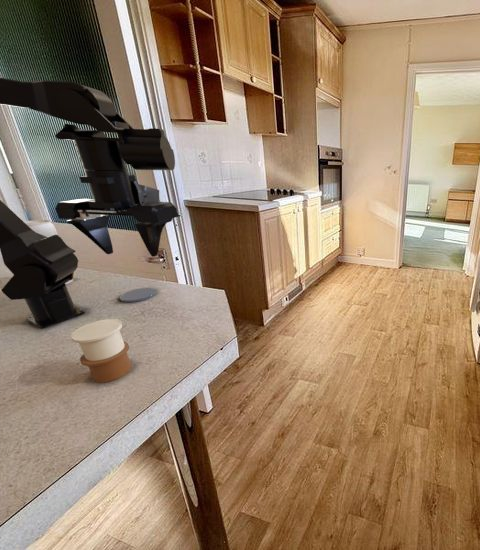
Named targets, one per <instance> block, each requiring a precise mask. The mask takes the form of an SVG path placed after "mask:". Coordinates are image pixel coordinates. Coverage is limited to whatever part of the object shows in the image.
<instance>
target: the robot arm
mask: <svg viewBox="0 0 480 550" xmlns="http://www.w3.org/2000/svg"><path fill="white" fill-rule="evenodd" d="M0 105H4V106H10V107H16V108H22V109H27V110H28V109H29V110H32V111H35V112H39V113H42V114H45V115H47V116H50V117H52V118H53V117H54V118H56V119H60V120H64V121H66V122H70V123H65V124H64V125H63V127H62V129H60V130H59V131H58V132H57V133H56V134H55V136H54V137H55V138H56V139H57V140H61V141H62V140H63V141H64V140H65V141H73V142H74V144H75V148H76V150H77V152H78V156H79V159H80V162H81V164H82V168H83V170H84V173H85V175H83V176H82V175H81V176H79V180H80V182H81V184H88V187H89V189H90V192H91V195H92V198H79V199H78V198H77V199H71V200H63V201H58V203H57V204H56V206H55V207H54V209H55V212H56V215H57V217H58V219H61V220H66V223H67V224H69V225H72V226H74V227H75V228H76V229H77V230H78V231H79V232H81V233H82V234H83V235H85V236H86V237H87V238H88V239H89V240H91V242H92V243H94V244H95V245H96V246H97V247H98V248H99V249H101V251H102V252H104V253H105V254H106V255H112V254H114V249H113V247H114V246H113V244H112V243H113V242H112V240H111V236H110V232H109V228H108V222H109V219H110V218H111V216H124V217H125V216H126V217H133V218H134V220H136V221H137V223H134V226H135V228H136V230H137V232H138V234H139V236H140V238H141V240H142V242H143V244H144V247H145V248H146V250H147V251H148V253H149V254H150V256H151V257H153V258H154V257H156V256H158V255H159V249H160V244H161V243H160V241H161V238H162V237H161V236H162V233H163V230H164V228H165V226H166V224H167V223H171V222H173V219H175V218H178V217H179V213H178V210H177V207H176V205H175V204H174V203H172V202H171V201H160V190H159V189H157V188H153V187H151V186H148V185H144V184H140V183H139V182H138V178H137V177H136V175H134V174H129V171H128V168H127V165H130V166H131V168H133V169H134V170H136V171H174V170H175V167H176V156H175V152H174V149H173V148H172V146H171V143H170V141H169V139H168V138H167V137H166V133H165V130H164V129H163V128H155V127H154V128H153V127H152V128H145V129H144V128H134V127H133V126H132V125H131V124H130V123H129V122H128V121H127V120H126V119H125V118H124V117H123V116H122V115H120V113H119V112H118V111H117V110H116V105H115V104H114V103H113V101H112V99H111V98H110V97H109V96H108V95H106V94H105V92H103V91H101V90H98V89H96V88H92V87H89V86H86V85H83V84H80V83H76V82H74V81H70V80H37V81H24V80H23V81H22V80H15V79H12V78H11V79H10V78H5V77H0ZM71 123H73V124H71ZM77 124H78V125H82V126H89V127H91V128H93V129H82V128H79V127H78V126H77ZM105 133H109V134H117V136H118V137H108V136H107V135H106V134H105ZM24 222H25V221H23V219H22V218H21V217H19V216H18V215H17V214H16V213H15V212H14V211H13V210H12V209H11V208H9V207H8V206H7V204H5V202H3V201H2V200H1V199H0V255H1V258H2V261H3V265H4V266H5V267H6V268H7V269H8V270H9V271H10V272H11V274H12V275H13V276H12V277H10V279H9V280H8V281H7V282H6V283H5V285H4V286H3V287H2V288H1V292H2V293H3V294H4V296H6V297H7V298H8V299H9V300H10V301H17V300H24V301H25V303H26V305H27V307H28V309H29V311H30V313H31V316H28V317H26V318H25V320H26V321H27V322H29V323H31V324H33V325H34V326H36V327H39V329H45V328H48V327H52V326H54V325H57V324H59V323H63V322H65V321H67V320H71V319H73V318H75V317H79V316H82V315H84V314H85V313H86V311H85V310H84V309H83V308H80V307H78V306H75V304H74V301H73V299H72V296H71V294H70V292H69V290H68V287H67V284H65V283H66V282H68V281H69V280H72V279H73V280H74V278H73V275H74V276H75V272H76V270H77V268H78V266H79V265H78V264H79V259H78V257H77V256H76V254H75V253H76V250H75V249H73V248H71V246H69V245H68V244H67V243H66V242H65V241H64V240H63V239H62V237H60V235H59V234H58V235H56V234H55V235H52V236H49V237H46V236H43V235H41V234H39V233H36V232H35V231H33V230H32V229H31V228H30V227H29V226H28V225H27V224H25V223H24Z"/></svg>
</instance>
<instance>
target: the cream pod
mask: <svg viewBox="0 0 480 550" xmlns="http://www.w3.org/2000/svg"><path fill="white" fill-rule="evenodd" d="M122 327H123V323H122V321H121V320H120V319H116V318H107V319H100V320H96V321H92V322H90V323H87V324H85V325H82V326H80V327H79V328H76V329H75V330H73V332H72V333H71V334H70V339H71V341H72V342H74V343H77V344H79V346H80V349H81V351H82V353H83V354H84V356H85V358H86V359H87V360H89V361H98V360H103V359H107V358H109V357H112V356H114V355H116V354H118V353H119V352H121V351H122V350H123V349H124V347H125V344H124V339H123V336H122V333H121V329H122Z"/></svg>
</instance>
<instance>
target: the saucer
mask: <svg viewBox="0 0 480 550" xmlns="http://www.w3.org/2000/svg"><path fill="white" fill-rule="evenodd" d="M154 295H156V290H155V289H154V288H152V287H142V288H141V287H140V288H135V289H132V290H129V291H126V292H124V293H123V294H121V295H120V296H119V300H120V301H121V302H123V303H138V302H141V301H144V300H148V299H150V298H152V297H154Z"/></svg>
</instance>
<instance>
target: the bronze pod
mask: <svg viewBox="0 0 480 550" xmlns="http://www.w3.org/2000/svg"><path fill="white" fill-rule="evenodd" d="M123 341H124V340H123ZM124 344H125V347H124V349H123V350H122V351H121V352H119V353H118V354H116V355H114V356H112V357H109V358H107V359H103V360H98V361H89V360H87V359H86V358H85V356H84V353H83V354H82V355H81V356H80V358H79V362H80V364H81V365H83V366H84V367H88V369H89V372H90V374H91V376H92V379H93V381H94V382H96V383H99V384H100V383H101V384H105V383H109V382H113V381H116V380H118V379H120V378H123V377H124V376H125V375H127V374H128V373H129V372H130V371H131V369H132V367H133V365H132V363H131V360H130V356H129V355H128V351H129V350H130V344H129V343H128V342H127V341H124Z"/></svg>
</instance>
